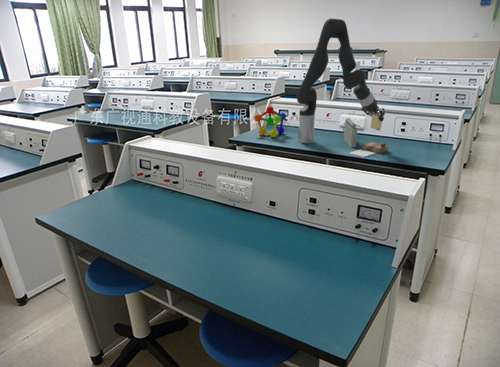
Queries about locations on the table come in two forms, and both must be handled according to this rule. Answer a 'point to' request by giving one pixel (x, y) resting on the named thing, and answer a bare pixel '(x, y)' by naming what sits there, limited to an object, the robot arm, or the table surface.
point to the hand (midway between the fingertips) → (378, 119)
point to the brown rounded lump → (375, 147)
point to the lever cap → (376, 122)
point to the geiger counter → (350, 132)
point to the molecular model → (271, 122)
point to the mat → (361, 153)
